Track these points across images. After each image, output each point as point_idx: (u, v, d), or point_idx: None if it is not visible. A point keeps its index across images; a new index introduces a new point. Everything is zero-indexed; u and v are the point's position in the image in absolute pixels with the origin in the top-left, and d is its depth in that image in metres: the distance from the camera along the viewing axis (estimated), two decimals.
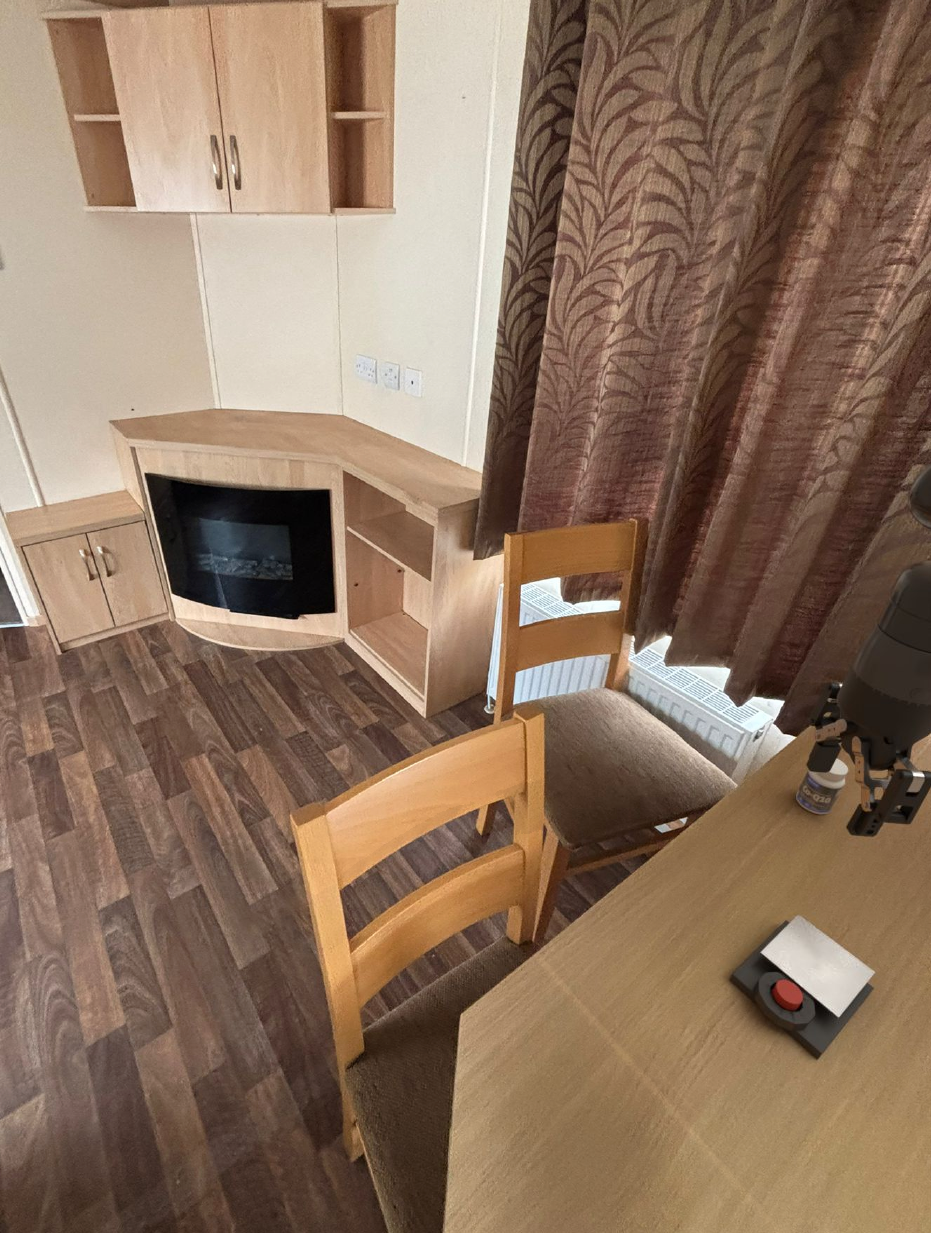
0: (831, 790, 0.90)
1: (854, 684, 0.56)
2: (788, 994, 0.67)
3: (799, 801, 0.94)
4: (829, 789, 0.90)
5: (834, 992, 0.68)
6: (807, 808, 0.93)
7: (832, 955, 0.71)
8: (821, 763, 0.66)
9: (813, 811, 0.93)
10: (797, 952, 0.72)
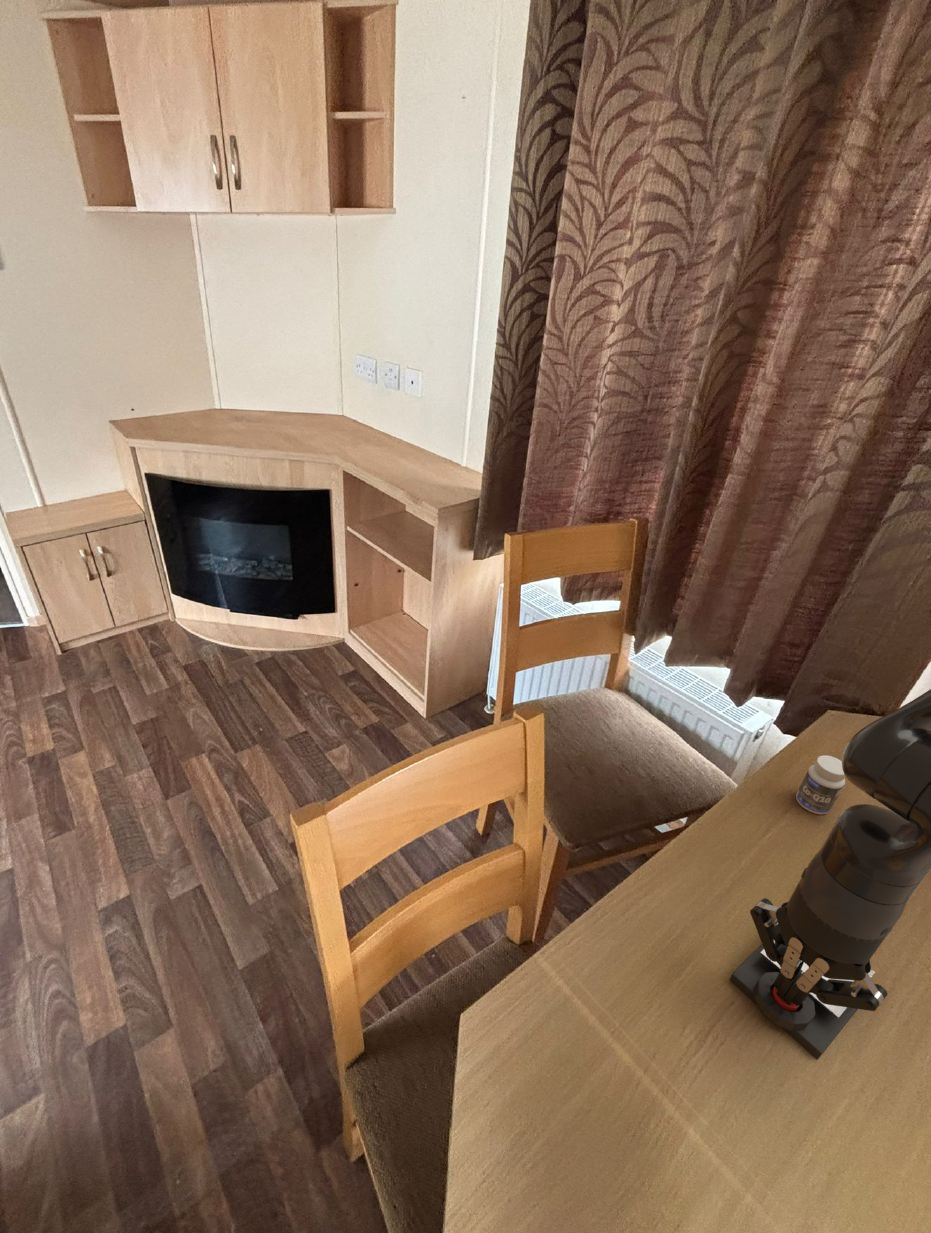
0: (831, 790, 0.90)
1: (823, 929, 0.57)
2: None
3: (799, 801, 0.94)
4: (829, 789, 0.90)
5: None
6: (807, 808, 0.93)
7: None
8: None
9: (813, 811, 0.93)
10: None
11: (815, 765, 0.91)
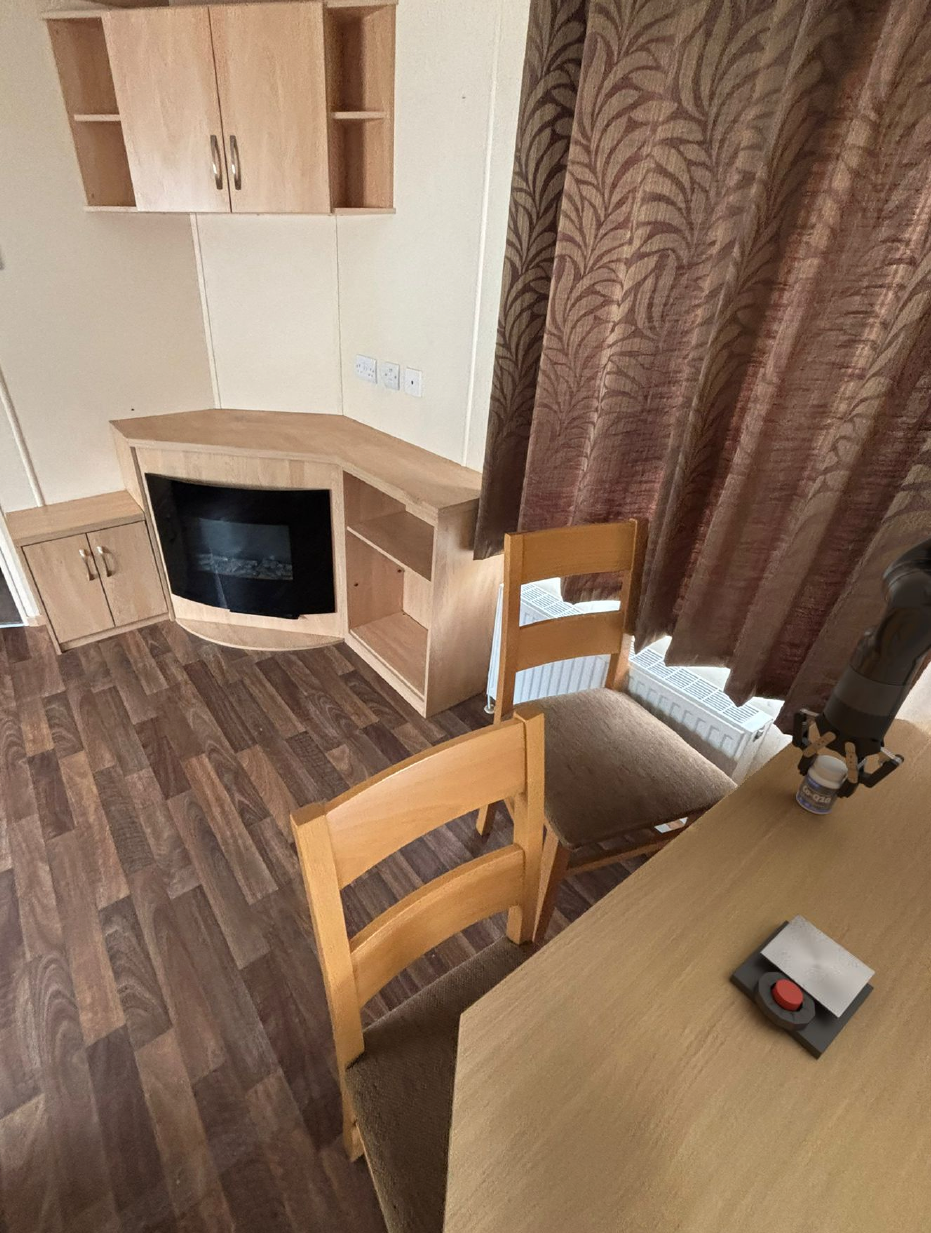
0: (831, 790, 0.90)
1: (851, 713, 0.82)
2: (788, 994, 0.67)
3: (799, 801, 0.94)
4: (829, 789, 0.90)
5: (834, 992, 0.68)
6: (807, 808, 0.93)
7: (832, 955, 0.71)
8: None
9: (813, 811, 0.93)
10: (797, 952, 0.72)
11: (815, 765, 0.91)
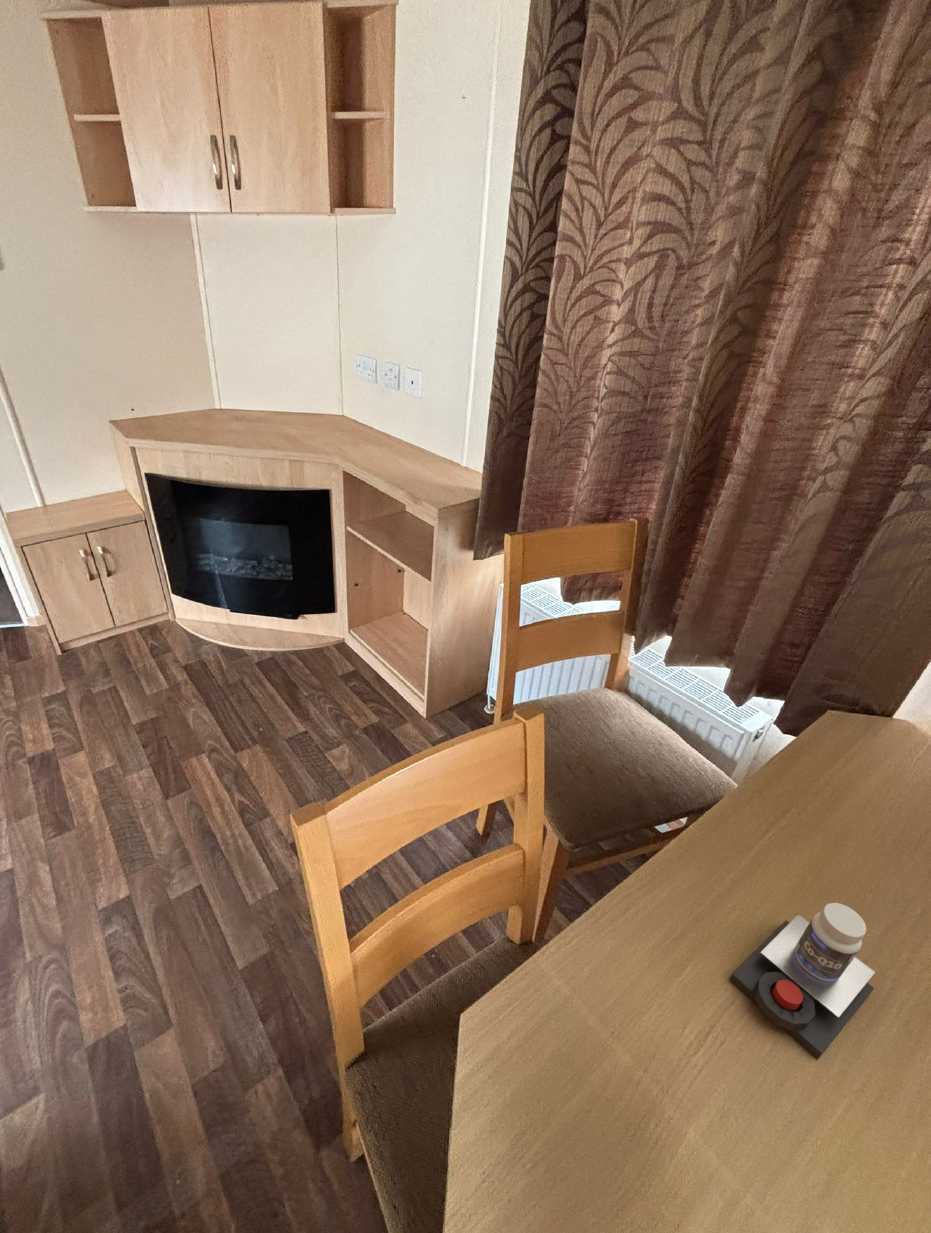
0: (843, 955, 0.66)
1: None
2: (788, 994, 0.67)
3: (799, 959, 0.70)
4: (840, 954, 0.66)
5: (834, 992, 0.68)
6: (810, 971, 0.69)
7: None
8: None
9: (818, 976, 0.69)
10: None
11: (821, 918, 0.67)
